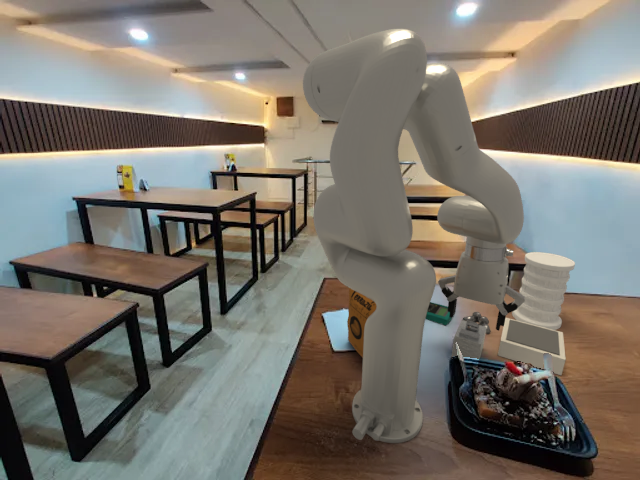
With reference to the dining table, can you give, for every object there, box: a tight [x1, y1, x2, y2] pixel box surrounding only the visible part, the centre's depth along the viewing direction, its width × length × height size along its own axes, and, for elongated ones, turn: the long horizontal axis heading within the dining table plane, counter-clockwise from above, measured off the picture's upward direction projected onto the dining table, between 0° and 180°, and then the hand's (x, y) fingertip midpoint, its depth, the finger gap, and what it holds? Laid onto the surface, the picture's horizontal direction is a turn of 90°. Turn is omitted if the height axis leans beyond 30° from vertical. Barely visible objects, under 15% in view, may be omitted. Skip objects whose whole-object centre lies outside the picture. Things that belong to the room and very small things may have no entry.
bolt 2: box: [478, 315, 492, 335], centre depth 84 cm, size 5×2×2 cm, turn 166°
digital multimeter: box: [425, 301, 453, 326], centre depth 92 cm, size 7×15×3 cm, turn 54°
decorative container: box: [511, 251, 576, 331], centre depth 86 cm, size 12×12×18 cm
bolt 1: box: [462, 311, 482, 322], centre depth 87 cm, size 5×2×2 cm, turn 111°
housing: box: [451, 319, 487, 359], centre depth 73 cm, size 8×6×7 cm
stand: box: [497, 317, 567, 376], centre depth 75 cm, size 12×12×4 cm
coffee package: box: [346, 287, 377, 359], centre depth 72 cm, size 10×12×22 cm
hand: (474, 320), depth 73 cm, fingers open, 9 cm apart
